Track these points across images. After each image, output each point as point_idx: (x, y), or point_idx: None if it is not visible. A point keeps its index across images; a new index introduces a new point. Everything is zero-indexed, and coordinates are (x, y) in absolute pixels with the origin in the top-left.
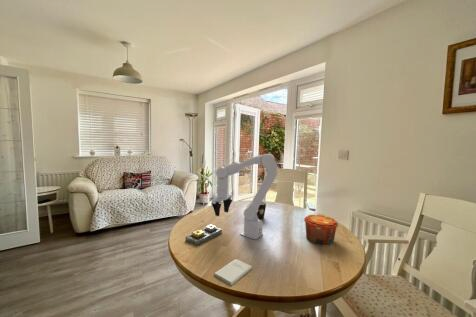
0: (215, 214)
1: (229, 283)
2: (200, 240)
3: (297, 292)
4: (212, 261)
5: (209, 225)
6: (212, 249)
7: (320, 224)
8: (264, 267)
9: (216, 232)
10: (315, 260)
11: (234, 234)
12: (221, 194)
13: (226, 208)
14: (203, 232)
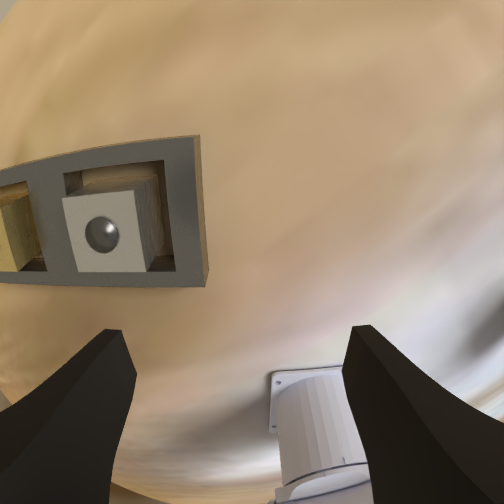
0: (97, 342)
1: None
2: (5, 280)
3: (138, 491)
4: (27, 378)
5: (105, 206)
6: (47, 344)
7: None
8: (141, 468)
9: (132, 284)
10: (263, 500)
11: (253, 346)
12: None
13: (366, 407)
14: (14, 270)
